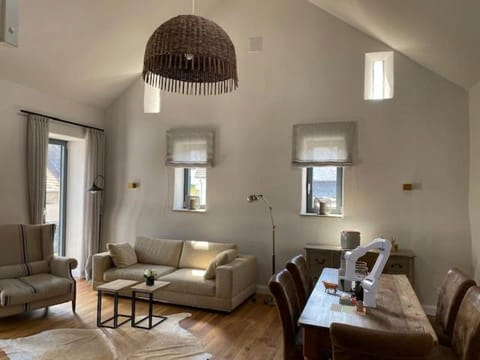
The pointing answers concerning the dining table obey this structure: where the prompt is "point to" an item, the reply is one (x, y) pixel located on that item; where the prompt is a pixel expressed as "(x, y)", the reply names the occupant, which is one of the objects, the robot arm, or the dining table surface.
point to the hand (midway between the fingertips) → (349, 292)
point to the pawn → (360, 306)
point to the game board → (346, 309)
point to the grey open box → (348, 301)
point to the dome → (345, 296)
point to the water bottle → (344, 274)
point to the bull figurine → (330, 286)
